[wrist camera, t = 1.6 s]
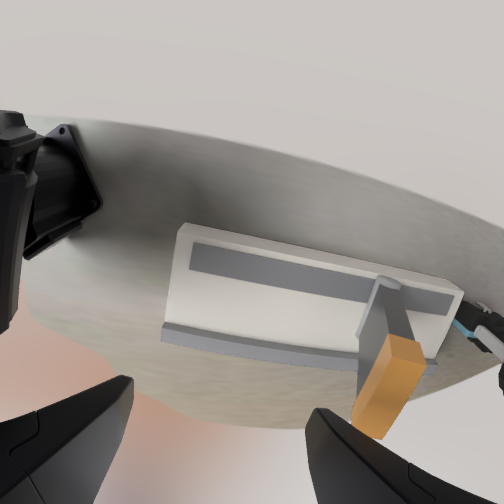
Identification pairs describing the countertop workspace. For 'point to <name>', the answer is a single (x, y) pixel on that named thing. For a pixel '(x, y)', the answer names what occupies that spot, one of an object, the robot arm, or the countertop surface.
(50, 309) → the countertop surface
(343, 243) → the countertop surface
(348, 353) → the panel
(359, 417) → the lever
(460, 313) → the push button
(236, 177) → the countertop surface
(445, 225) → the countertop surface
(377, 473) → the robot arm
